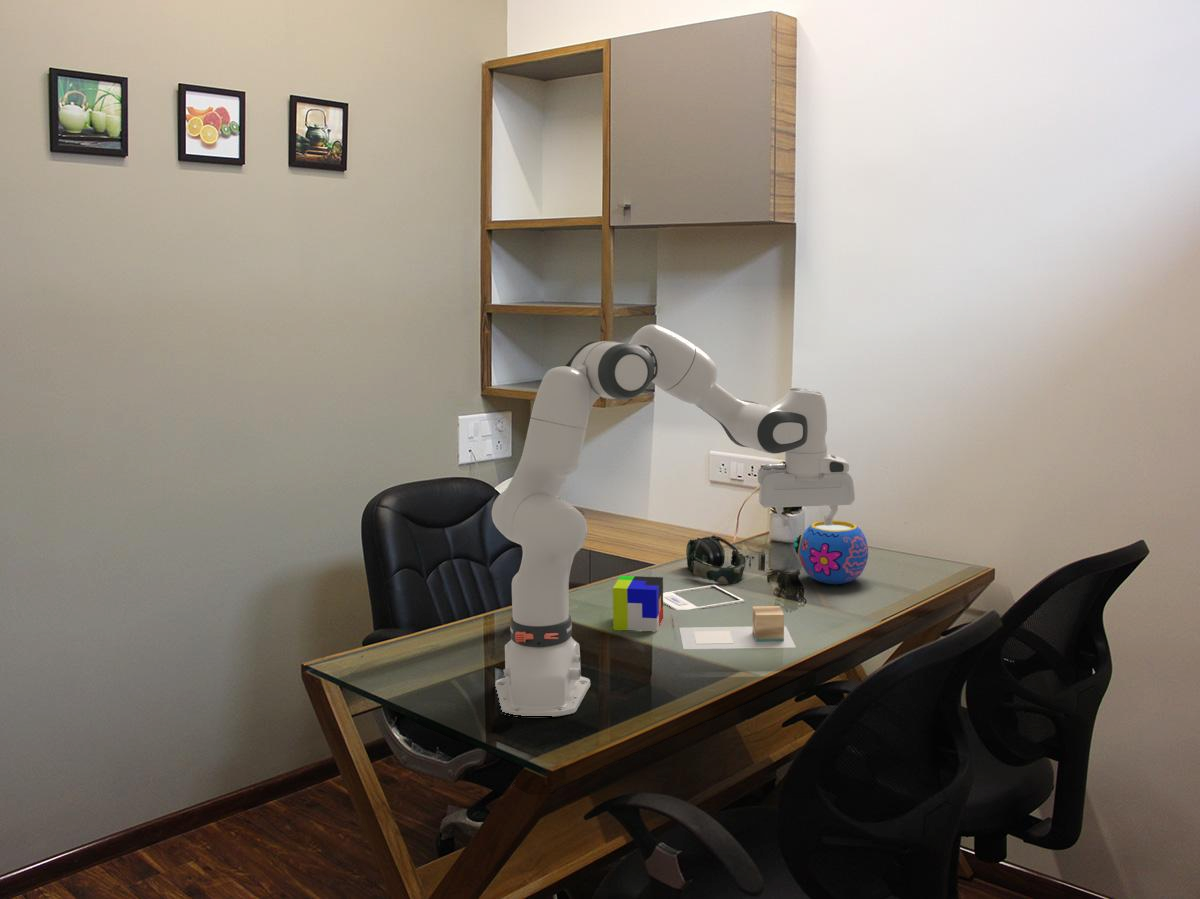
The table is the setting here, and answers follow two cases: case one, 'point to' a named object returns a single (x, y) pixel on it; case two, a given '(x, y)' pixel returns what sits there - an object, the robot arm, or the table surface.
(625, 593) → the puzzle toy
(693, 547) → the headphones
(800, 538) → the ceramic pot
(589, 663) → the table surface
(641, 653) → the table surface
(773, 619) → the wood cube
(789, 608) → the table surface
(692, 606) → the photo frame
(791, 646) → the grey board
